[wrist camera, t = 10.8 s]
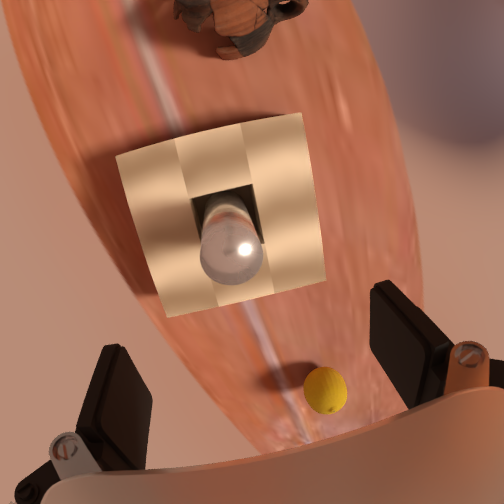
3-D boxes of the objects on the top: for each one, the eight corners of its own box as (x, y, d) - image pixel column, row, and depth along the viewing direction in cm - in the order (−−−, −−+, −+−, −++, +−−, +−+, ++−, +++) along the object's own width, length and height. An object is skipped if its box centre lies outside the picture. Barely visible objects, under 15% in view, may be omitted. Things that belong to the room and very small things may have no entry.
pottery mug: (195, 75, 27) (159, 25, 19) (194, 15, 28) (166, -32, 20) (318, 53, 25) (314, -8, 17) (300, -5, 26) (291, -60, 18)
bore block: (129, 151, 29) (115, 156, 24) (287, 114, 29) (301, 112, 25) (172, 293, 35) (167, 317, 30) (311, 260, 36) (326, 280, 31)
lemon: (324, 348, 41) (344, 389, 33) (341, 370, 43) (361, 409, 35) (290, 370, 41) (304, 413, 34) (309, 389, 43) (324, 430, 36)
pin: (200, 195, 30) (192, 234, 19) (240, 186, 31) (256, 219, 19) (210, 233, 32) (208, 291, 21) (249, 224, 32) (268, 277, 21)
